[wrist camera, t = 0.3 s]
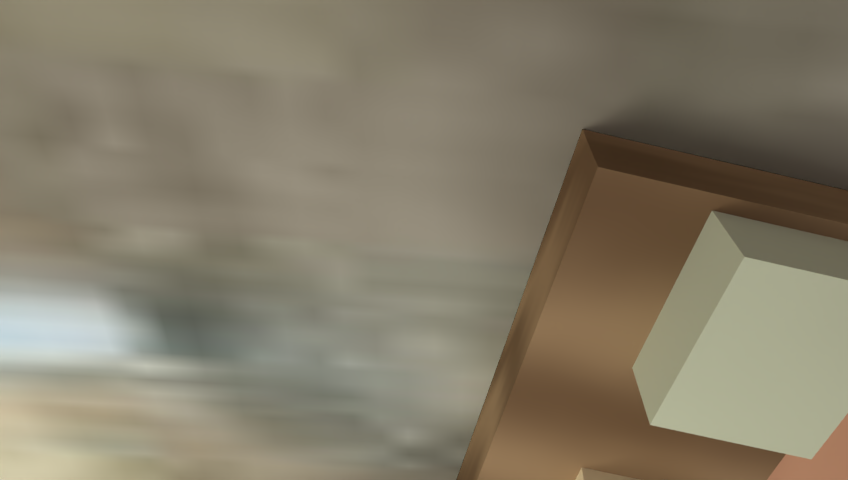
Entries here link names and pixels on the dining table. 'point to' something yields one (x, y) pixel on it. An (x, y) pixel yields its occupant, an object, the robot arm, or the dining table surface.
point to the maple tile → (599, 475)
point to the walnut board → (621, 315)
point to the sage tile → (752, 339)
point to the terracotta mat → (819, 460)
